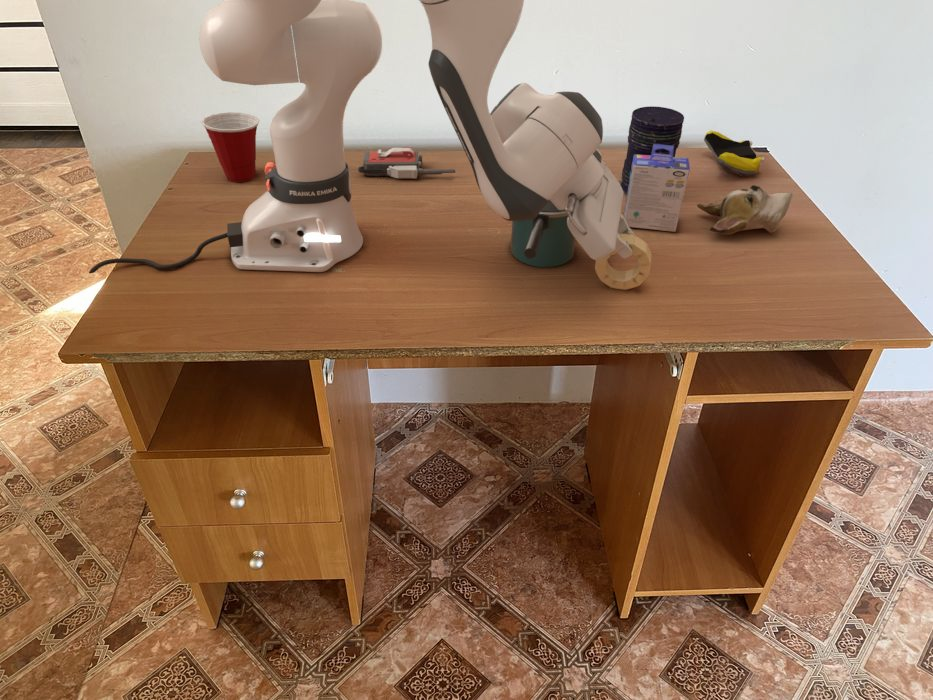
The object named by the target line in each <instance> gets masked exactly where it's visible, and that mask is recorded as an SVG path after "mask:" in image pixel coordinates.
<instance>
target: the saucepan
mask: <svg viewBox="0 0 933 700" xmlns="http://www.w3.org/2000/svg"><path fill="white" fill-rule="evenodd" d="M548 201H549V202H548V203H547V204H546V205H545V207H544V208H543V209H542V210H541V211H540V213H539V214H538V215H537V216H536V218H535V219H530V220H524V221H511V222H512V223H511V224H512V225H511V239H510V240H511V241H510V252H511V254H512V255H513V257H514V258H515V259H516V260H517V261H519V262H521V263H524V264H526V265H529V266H532V267H537V268H538V267H539V268H550V267H551V268H552V267H559V266H561V265H564V264H567V263H568V262H569V261H571V260H572V258H573V257H574V254H575V249H576V241H577V240H576V239H575V237H574V236H573V235H572V233H571V232H570V230H569V228H568V225H567V218H568V214H567V213H566V212H565V210H558V209H557V208H556V206H555V205H554V204H553V203H552V202H551V201H550V200H548Z"/></svg>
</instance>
